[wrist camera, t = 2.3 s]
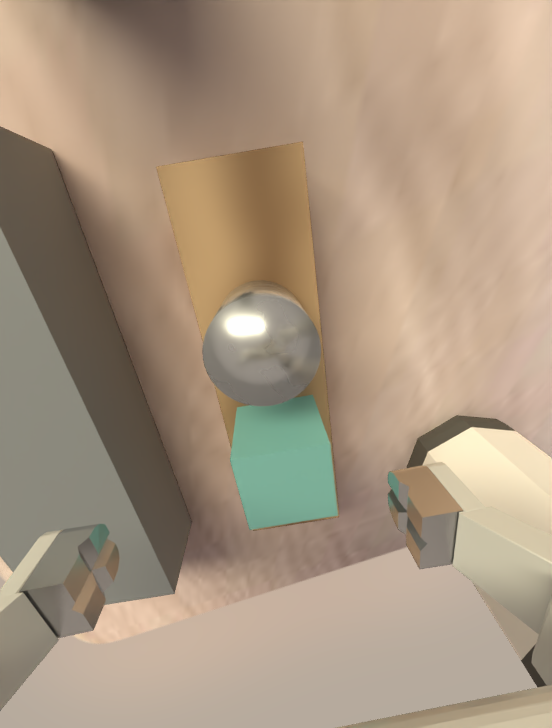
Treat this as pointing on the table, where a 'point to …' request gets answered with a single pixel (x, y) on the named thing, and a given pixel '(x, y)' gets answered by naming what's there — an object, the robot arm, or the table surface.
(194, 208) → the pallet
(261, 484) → the mint green cube
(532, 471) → the wine bottle
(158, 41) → the table surface
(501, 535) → the robot arm
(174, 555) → the dock
